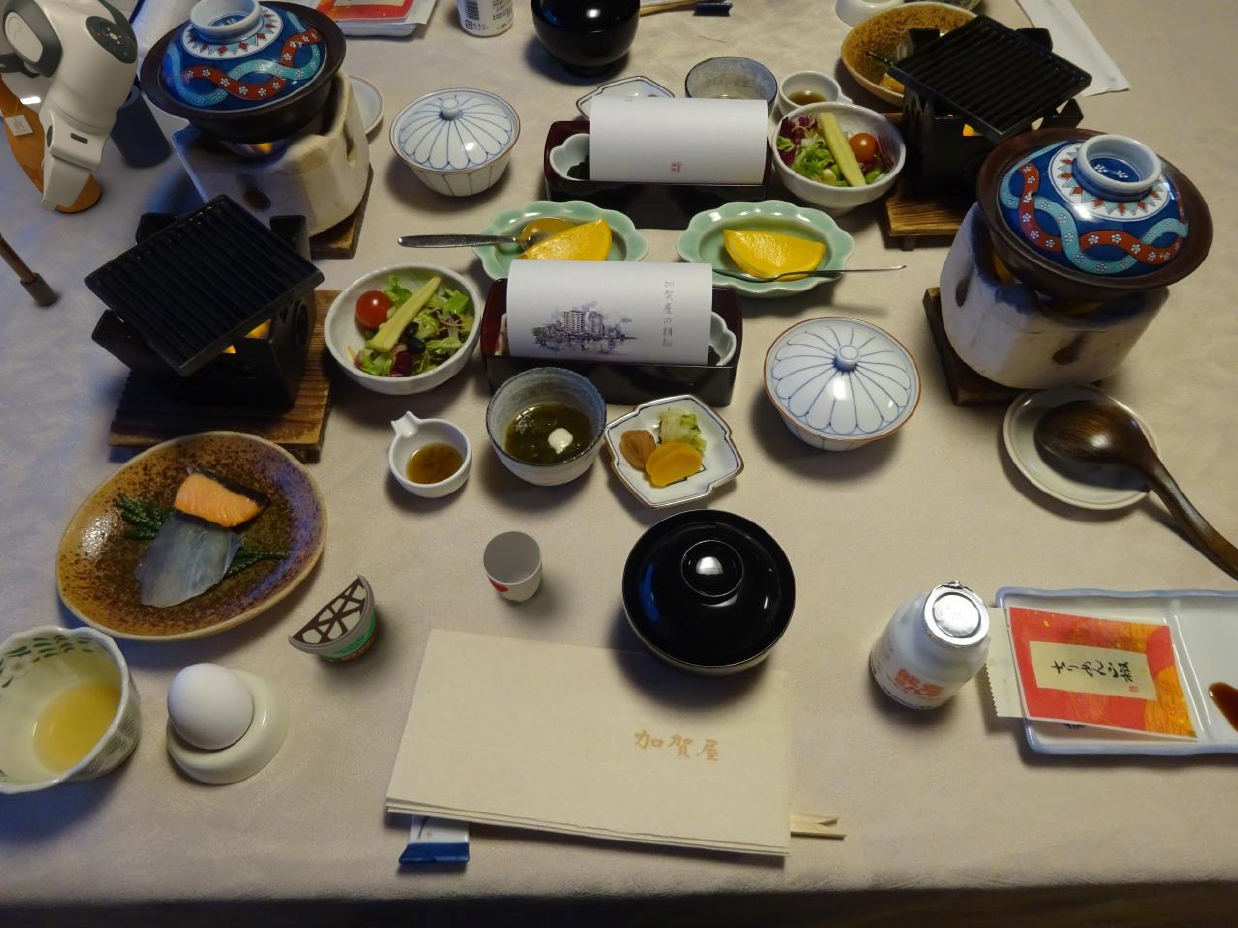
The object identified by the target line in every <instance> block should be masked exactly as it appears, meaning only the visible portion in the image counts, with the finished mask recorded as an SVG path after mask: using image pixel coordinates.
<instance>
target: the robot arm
mask: <svg viewBox="0 0 1238 928" xmlns="http://www.w3.org/2000/svg"><path fill="white" fill-rule="evenodd" d="M138 67H139V44H138V39H137V36H136V33H135V30H134V29H133V27H132V24H131V23H130V21H129V20H128V19H127V17H126V16H125V15H124V14H123V12H121V11H120V10H119V9H118V8H116V7H115V5H112V4H111V3H109V2H108V1H107V0H0V73H1V75H2V80H3V81H4V83H5V84H6V85H7V86H8V88H9V89H10V90H11V91H12V93H13V94H15V95H16V96H17V97H18V98H19V99H20V100H21V101H22V102H23V103H24V104H25V105H26V106H28V107H29V108H30V109H32V110H33V111H35V112H36V113H38V114H39V119H40V122H41V124H42V125H43V128H44V131H45V148H44V159H43V162H42V170H43V171H44V194H42V197H41V199H40V207H41V208H42V209H44V210H47V211H50V212H53V211H55V210H56V208H55V207H56V205H57V204H59V205H62V206H65V207H70V206H71V205H73V204H74V203H75V201H76V200H77V198H78V196H79V195H80V193H81V191H82V190H83V188H84V186H85V184H86V183H87V181H88V179H89V176H90V174H91V173H92V171H94V172H95V171H98V170H99V168H100V167H101V163H102V159H103V154H104V149H105V147H106V145H107V143H108V140H109V138H110V133H111V131H112V129H113V127H114V124H115V122H116V117H117V110H118V109H119V107H120V106H122V105H123V104H124V102H125V101H126V99H127V97H128V94H129V92H130V90H131V87H132V85H134V82H135V79H136V76H137V72H138ZM0 118H2V119H3V115H2V112H1V110H0Z"/></svg>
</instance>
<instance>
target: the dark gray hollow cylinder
mask: <svg viewBox="0 0 1238 928" xmlns="http://www.w3.org/2000/svg"><path fill="white" fill-rule="evenodd" d="M109 138H110V139H111V140H112V142H113V144H114V145H115V147H116V149H117V150H118V151H119V154H120V155H121V156H122V158H123V159H124V161H125V162H126V163H127V165H129V166H132V167H133V168H141V169H142V168H149V167H153V166H156V165H158V164H161V163H162V162H164V161H165V160H166V159H168V157H169V155H170V154H171V151H172V147H171V145H170V142H169V141H168V139H167V138H166V135H165V134H164V132H163V130H162V129H161V126H160V124H159V122H158V121H157V119H156V118H155V115H154V114H153V112H152V110H151V108H150V107H149V105H148V103H147V101H146V99H145V98H144V96H143V94H142V92H141V90H140V89H139V87H138V86H137V85H135V84H133V85H132V87H131V90H130V92H129V94H128V97H127V99H126V101H125V102H124V104H123V105H122V106H120V107H119V109H118V110H117V117H116V122H115V124H114V127H113V129H112V131H111V133H110V135H109Z"/></svg>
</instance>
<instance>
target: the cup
mask: <svg viewBox="0 0 1238 928" xmlns="http://www.w3.org/2000/svg"><path fill="white" fill-rule="evenodd" d="M481 564H482V568H483V570H484V573H485V574H486V576H487V579H488V581H489V582H490V584H491V586H492V587H493V588H494V589H495V590H496V591H497V592H498V594H499V595H500V596H502V598H505V599H507V600H509V601H512V602H514V603H522V602H525V601H528V600H529V599H530V598H531V597H532V596H533V595H534V594H535V593H536V591H538V588H539V586H540V583H541V578H542V574H543V553H542V548H541V545H540V543H539V541H538V540H537V539H536V538H535V537H534V536H533V535H531V534H530V533H528V532H526V531H523V530H518V529H510V530H504V531H501V532H499V533H497V534H496V535H494V536H492V537H491V538H490V539H489V540H488V541H487V543H486V544H485V545H484V548H483V550H482V553H481Z"/></svg>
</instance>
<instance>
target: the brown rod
mask: <svg viewBox="0 0 1238 928" xmlns="http://www.w3.org/2000/svg"><path fill="white" fill-rule="evenodd" d="M0 257H1V258H2V259H3V261H4V262H5V263H6V264H7V265H8V266H9V267H10V269H11V270H12V271H13V272H14V273H15V274H16V275H17V276H18V278H20V280H19V284H20V285H21V286H22V287H23V289H24V290H25V291H26V292H27V293H28V294H29V295H30V297H31V298H32V299H33V300H34V301H35V302H36V303H37V304H38V305H39V306H41V307H42V306H43V307H47V306H50V305H52V304H54V303H55V302H56V301H57V299H58V294H57V293H56V292H55V291H54V289H53V288H52V287H51V286H50V285H49V284H48V282H47V281H46V280H45V279H44V277H42V275H41V274H40V273H38V272H35V271H33V270H32V269H31V268H30V267H29V265H27V263H26V262H25V261H24V260H23V259H22V258H21V256H19V254H18V253H17V251H15V249H14V248H13V247H12V246H11V245H10V244H9V243H8V241H7V240H6V239H5V238H4V237H3V234H2V232H0Z"/></svg>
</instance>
